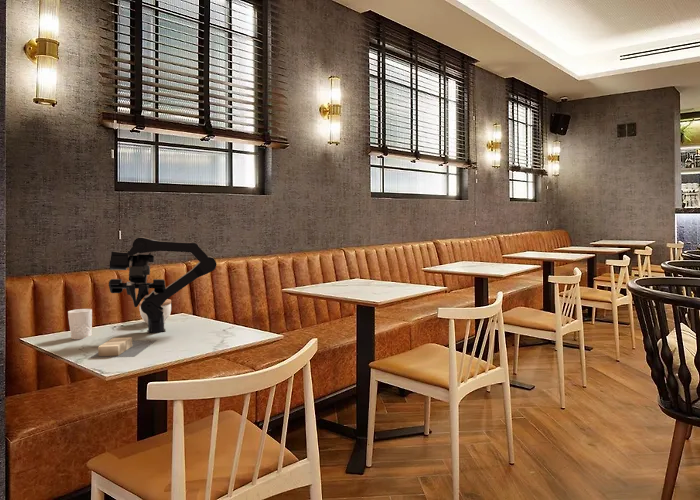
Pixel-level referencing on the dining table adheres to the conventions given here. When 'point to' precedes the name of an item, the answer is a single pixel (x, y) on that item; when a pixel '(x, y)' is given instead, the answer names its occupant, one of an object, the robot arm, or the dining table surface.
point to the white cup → (80, 323)
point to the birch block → (115, 346)
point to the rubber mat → (130, 349)
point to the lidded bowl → (166, 312)
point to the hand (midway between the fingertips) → (135, 306)
